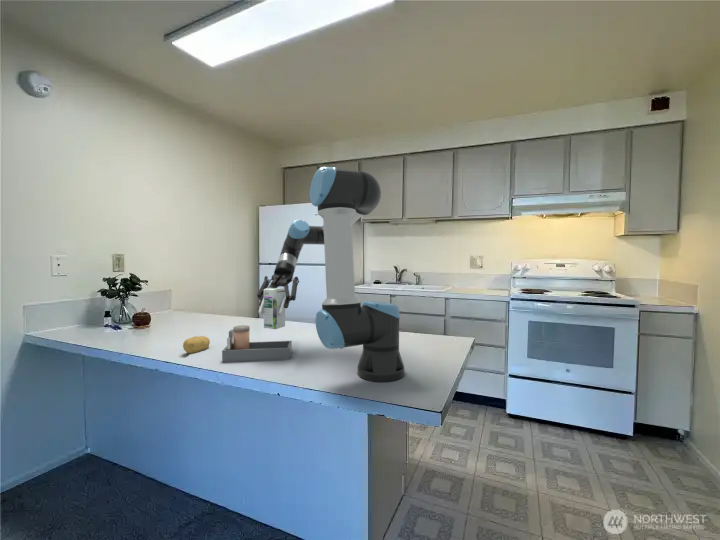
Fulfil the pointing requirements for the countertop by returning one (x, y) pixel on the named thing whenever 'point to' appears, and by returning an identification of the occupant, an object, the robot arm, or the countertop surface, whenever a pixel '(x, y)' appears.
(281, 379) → the countertop surface
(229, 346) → the pusher
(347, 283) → the robot arm
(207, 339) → the potato
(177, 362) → the countertop surface
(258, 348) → the gray tray
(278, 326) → the syrup box
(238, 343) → the jar
